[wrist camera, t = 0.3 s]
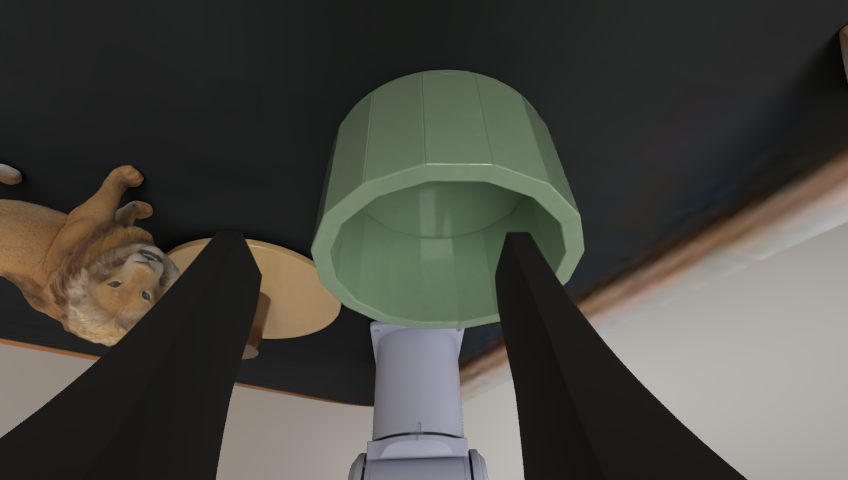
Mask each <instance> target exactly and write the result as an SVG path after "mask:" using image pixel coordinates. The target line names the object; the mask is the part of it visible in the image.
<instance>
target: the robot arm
mask: <svg viewBox="0 0 848 480" xmlns="http://www.w3.org/2000/svg"><path fill="white" fill-rule="evenodd" d="M261 281H262V274H261V272H260V270H259V267H258V265H257V263H256V261H255V259H254V257H253V255H252V252H251V250H250V248H249V246H248V244H247V242H246V240H245V237H244V235H243V233H242V231H218V232H217V233H216V234H215V235H214V237H213V238H212V239H211V240H210V241H209V242H208V244H207V245H206V246H205V247H204V248H203V250H202V251H201V252H200V253H199V254H198V255H197V257H196V258H195V259H194V260H193V261H192V263H191V264H190V265H189V266H188V267H187V268H186V270H185V271H184V272H183V273H182V274H181V275H180V277H179V278H178V279H177V280H176V281H175V282H174V283H173V285H172V286H171V287H170V288H169V289H168V290H167V291H166V292H165V294H164V295H163V296H162V297H161V298H160V299H159V300H158V301H157V302H156V303H155V305H154V306H153V307H152V308H151V309H150V310H149V311H148V312H147V313H146V314H145V315H144V316H143V317H142V318H141V319H140V320H139V321H138V322H137V323H136V324H135V325H134V326H133V327H132V328H131V329H130V330H129V331H128V332H127V333H126V334H125V335H124V336H123V337H122V338H121V339H120V340H119V341H118V342H117V343H116V344H115V345H114V346H113V347H112V348H111V349H110V350H109V351H108V352H107V353H105V354H104V355H103V356H102V357H101V358H100V359H99V360H98V361H97V362H95V363H94V364H93V365H92V366H91V367H90V368H89V369H88V370H86V371H85V372H84V373H83V374H82V375H81V376H79V377H78V378H77V379H76V380H75V381H73V382H72V383H71V384H70V385H69V386H67V387H66V388H65V389H64V390H63V391H61V392H60V393H59V394H58V395H56V396H55V397H54V398H53V399H51V400H50V401H49V402H48V403H46V404H45V405H44V406H43V407H42V408H40V409H39V410H38V411H36V412H35V413H34V414H32V415H31V416H30V417H28V418H27V419H26V420H24V421H23V422H22V423H20V424H19V425H18V426H16V427H15V428H14V429H12V430H11V431H10V432H8V433H7V434H5V435H4V436H3V437H1V438H0V480H216V474H217V467H218V461H219V456H220V450H221V444H222V438H223V433H224V427H225V422H226V417H227V412H228V407H229V402H230V398H231V394H232V389H233V386H234V383H235V379H236V376H237V373H238V370H239V366H240V363H241V360H242V357H243V353H244V350H245V347H246V344H247V340H248V337H249V334H250V331H251V327H252V324H253V321H254V317H255V314H256V310H257V305H258V300H259V294H260V288H261ZM495 285H496V296H497V306H498V312H499V317H500V322H501V326H502V331H503V336H504V341H505V345H506V350H507V354H508V359H509V364H510V368H511V373H512V377H513V382H514V388H515V394H516V401H517V410H518V419H519V427H520V437H521V447H522V456H523V466H524V478H525V480H747V479H746V478H745V477H744V476H742V475H741V474H740V473H739V472H738V471H736V470H735V469H734V468H733V467H731V466H730V465H729V464H728V463H727V462H725V461H724V460H723V459H722V458H721V457H720V456H718V455H717V454H716V453H715V452H714V451H712V450H711V449H710V448H709V447H708V446H707V445H706V444H704V443H703V442H702V441H701V440H700V439H699V438H698V437H697V436H696V435H695V434H693V433H692V432H691V431H690V430H689V429H688V428H687V427H686V426H684V425H683V424H682V423H681V422H680V421H679V420H678V419H677V418H676V417H675V416H674V415H673V414H672V413H671V412H670V411H669V410H668V409H667V408H666V407H665V406H664V405H663V404H662V403H661V402H660V401H659V400H658V399H657V398H656V397H655V396H654V395H653V394H652V393H651V392H650V391H649V390H648V389H646V388H645V387H644V386H643V385H642V383H641V382H640V381H639V380H638V379H637V378H636V377H635V376H634V375H633V374H632V373H631V372H630V371H629V369H628V368H627V367H626V366H625V365H624V364H623V363H622V362H621V361H620V360H619V358H618V357H617V356H616V355H615V354H614V353H613V351H612V350H611V349H610V348H609V347H608V346H607V345H606V343H605V342H604V341H603V340H602V338H601V337H600V336H599V335H598V333H597V332H596V331H595V330H594V328H593V327H592V326H591V324H590V323H589V322H588V320H587V319H586V318H585V317H584V315H583V314H582V312H581V311H580V310H579V308H578V307H577V306H576V304H575V303H574V301H573V300H572V298H571V297H570V296H569V294H568V293H567V291H566V290H565V288H564V287H563V285H562V284H561V282H560V281H559V279H558V278H557V276H556V275H555V273H554V272H553V270H552V268H551V267H550V265H549V264H548V262H547V260H546V259H545V257H544V255H543V254H542V252H541V250H540V249H539V247H538V245H537V244H536V242H535V240H534V238H533V237H532V235H531V234H530V233H529V232H507V233H506V237H505V240H504V244H503V247H502V251H501V254H500V258H499V262H498V265H497V269H496V272H495ZM464 329H465V328H463V329H461V328H460V329H414V328H409V327H403V326H398V325H393V324H388V323H382V322H380V321H374V322H372V323H371V324H370V330H371V337H372V343H373V349H374V356H375V362H376V381H375V400H374V419H373V438H372V441H370V442H368V443H367V453H361V454H359V456H358V457H357V459H356V460H355V461H354V462H353V464H352V466H351V468H350V472H349V477H348V480H488V476H487V469H486V465H485V460H484V458H483V457H482V456H481V455H480V454H479V453H478V451H477V450H476V449H469V452H468V442H467V438H464V429H463V417H462V404H461V392H460V380H459V367H458V357H459V352H460V347H461V343H462V338H463V333H464Z"/></svg>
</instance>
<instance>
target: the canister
mask: <svg viewBox="0 0 848 480" xmlns="http://www.w3.org/2000/svg"><path fill="white" fill-rule="evenodd" d="M507 232H529V233H530V234H531V235H532V237H533V238H534V240H535V242H536V244H537V245H538V247H539V249H540V250H541V252H542V254H543V255H544V257H545V259H546V260H547V262H548V264H549V265H550V267H551V268H552V270H553V272H554V273H555V275H556V276H557V278H558V279H559V281H560V282H561V284H562V285H564V284H565V283H566V282H568V280H569V279H570V277H571V275H572V273H573V271H574V270H575V268H576V266H577V264H578V262H579V260H580V258H581V256H582V254H583V252H584V240H583V232H582V224H581V217H580V214H579V211H578V208H577V205H576V203H575V200H574V197H573V195H572V192H571V189H570V187H569V184H568V181H567V179H566V176H565V173H564V171H563V168H562V165H561V163H560V160H559V157H558V155H557V152H556V149H555V147H554V144H553V141H552V138H551V136H550V133H549V130H548V128H547V125H546V124H545V123H544V122H543V121H542V119H541V117H540V116H539V114H538V113H537V111H536V110H535V109H534V107H533V106H532V105H531V104H530V103H529V102H528V101H527V100H526V99H525V98H524V97H523V96H522V95H521V94H519V93H518V92H517V91H515V90H514V89H513V88H511V87H510V86H508V85H506V84H504V83H502V82H500V81H498V80H496V79H493V78H490V77H487V76H485V75H482V74H477V73H473V72H468V71H460V70H430V71H424V72H419V73H413V74H410V75H407V76H404V77H400V78H397V79H395V80H393V81H391V82H388V83H386V84H384V85H382V86H380V87H379V88H377V89H376V90H374V91H372V92H371V93H369V94H368V95H367V96H365V97H364V98H363V99H362V100H361V101H360V102H358V103H357V104H356V105H355V106H354V108H353V109H352V110H351V111H350V112H349V113H348V114H347V116H346V117H345V119H344V121H343V122H342V123H341V125H340V127H339V130H338V132H337V134H336V137H335V140H334V144H333V148H332V151H331V154H330V157H329V160H328V165H327V170H326V175H325V180H324V185H323V190H322V195H321V200H320V205H319V210H318V215H317V220H316V225H315V230H314V235H313V240H312V245H311V253H312V257H313V260H314V263H315V267H316V270H317V273H318V277H319V280H320V282H321V284H323V285H324V286H325V287H326V288H327V289H328V290H329V291H330V292H331V293H332V294H333V295H334V296H335V297H336V298H337V299H338V300H339V301H340V302H341V303H342V304H343V305H345V306H346V307H348V308H350V309H352V310H354V311H357V312H359V313H361V314H363V315H365V316H368V317H370V318H372V319H374V320H376V321H380V322H382V323H388V324H393V325H398V326H403V327H409V328H414V329H460V328H461V329H463V328H468V327H473V326H478V325H483V324H488V323H493V322H498V321H500V317H499V312H498V306H497V296H496V285H495V272H496V269H497V265H498V262H499V258H500V254H501V251H502V247H503V244H504V240H505V237H506V233H507Z"/></svg>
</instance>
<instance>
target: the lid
mask: <svg viewBox="0 0 848 480" xmlns="http://www.w3.org/2000/svg"><path fill="white" fill-rule="evenodd" d="M211 239H212V238H207V239H200V240H195V241H191V242H187V243H185V244H182V245H179V246H177V247H175V248H174V249H172V250H170V251H169V252H168V253H167V254H166V255H167V256H168V257H169V258H170V259H171V260H172V261H173V262H174V264H175V265H176V267H177V268H179V270H180V275H181V274H182V273H183V272H184V271H185V270H186V268H187V267H188V266H189V265H190V264H191V263H192V261H193V260H194V259H195V258H196V257H197V255H198V254H199V253H200V252H201V251H202V250H203V248H204V247H205V246H206V245H207V244H208V242H209V241H210V240H211ZM245 240H246V242H247V244H248V246H249V248H250V250H251V252H252V255H253V257H254V259H255V261H256V263H257V265H258V267H259V270H260V272H261V274H262V281H261V288H260V294H259V300H258V305H257V310H256V314H255V317H254V321H253V324H252V327H251V331H250V334H249V337H248V340H247V344H246V347H245V350H244V353H243V357H242V359H250V358H254V357H256V356H257V355H258V353H259V349H260V345H261V341H262V338H266V339H279V338H292V337H298V336H303V335H307V334H311V333H314V332H316V331H319V330H321V329H323V328H325V327H326V326H328V325H329V324H331V323H332V322H333V321H334V320H335V319H336V317H337V316H338V314H339V312H340V309H341V302H340V301H339V300H338V299H337V298H336V297H335V296H334V295H333V294H332V293H331V292H330V291H329V290H328V289H327V288H326V287H325V286H324V285H323V284H321V282H320V280H319V277H318V273H317V270H316V267H315V263H314V261H312V260H310V259H308V258H307V257H305V256H303V255H301V254H299V253H296V252H294V251H292V250H289V249H286V248H284V247H281V246H278V245H274V244H270V243H267V242H262V241H257V240H251V239H245Z"/></svg>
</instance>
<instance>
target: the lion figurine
mask: <svg viewBox="0 0 848 480" xmlns="http://www.w3.org/2000/svg"><path fill="white" fill-rule="evenodd" d="M143 179H144V177H143V176H142V175H141V173H140V172H139V171H138V170H136V169H135V168H134V167H133V166H130V165H126V166H121V167H119V168H116V169H114V170H113V171H112V172H111V173H110V174H109V176H108V177H107V178H106V179H105V180H104V182H103V185H102V187H101V188H100V189H99V190H98V192H97V193H96V194H95V195H94V196H93V197H91V198H90V199H89V200H88V201H86V202H85V203H84V204H82V205H81V206H79V207H77V208H75V209H74V210H73V211H71V212H70V214H69V215H67V214H65V213H62V212H59V211H56V210H53V209H50V208H47V207H44V206H41V205H37V204H33V203H28V202H23V201H16V200H5V199H0V276H4V277H6V278H7V280H9V281H11V282H13V283H14V284H15V285H16V286H17V287H19V288H20V289H21V291H22V292H23V295H24V297H25V298H26V299H27V301H28V302H29V304H30V305H31V306H32V307H33V308H35V309H36V310H38V311H41V312H44V313H46V314H48V315H49V316H50V317H52V318H54V319H57V320H58V321H61V322H62V324H63V327H64V330H65V331H67V332H72V333H73V334H75V335H77V336H78V337H80V338H83V339H86V340H88V341H89V342H92V343H102V344H104V345H106V346H111V345H115V344H116V343H117V342H118V341H119V340H120V339H121V338H122V337H123V336H124V335H125V334H126V333H127V332H128V331H129V330H130V329H131V328H132V327H133V326H134V325H135V324H136V323H137V322H138V321H139V320H140V319H141V318H142V317H143V316H144V315H145V314H146V313H147V312H148V311H149V310H150V309H151V308H152V307H153V306H154V305H155V303H156V302H157V301H158V300H159V299H160V298H161V297H162V296H163V295H164V294H165V292H166V291H167V290H168V289H169V288H170V287H171V286H172V285H173V283H174V282H175V281H176V280H177V279H178V278H179V277H180V270H179V268H177V267H176V265H175V264H174V262H173V261H172V260H171V259H170V258H169V257H168V256H167V255H166V254H165V253H163V252H162V251H161V250H160V249H159V248H157V247H156V246H155V245H154V241H153V238H152V235H151V234H150V233H149V232H147V231H145V230H143V229H141V228H139V227H136V226H133V223H134V221H135V219H136V218H139V219H142V218H147V217H149V216H150V215H152V214H153V209H152V206H151V205H150V204H147V203H145V202H141V201H133V202H130V203H128V204H127V205H126V206H124V207H123V208H119V209H118V210H117V208H118V205H119V202H120V198H121V195H122V194H123V193H124V192H125V191H126V189H127V188H128V187H137V186H139V185H140V184H141V182H142V181H143ZM0 181H1V182H3V183H5V184H10V185H14V184H18V183H19V182H21V181H22V175H21V173H20V172H19V171H18V170H16V169H14V168H12V167H10V166H7V165H4V164H0Z"/></svg>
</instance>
